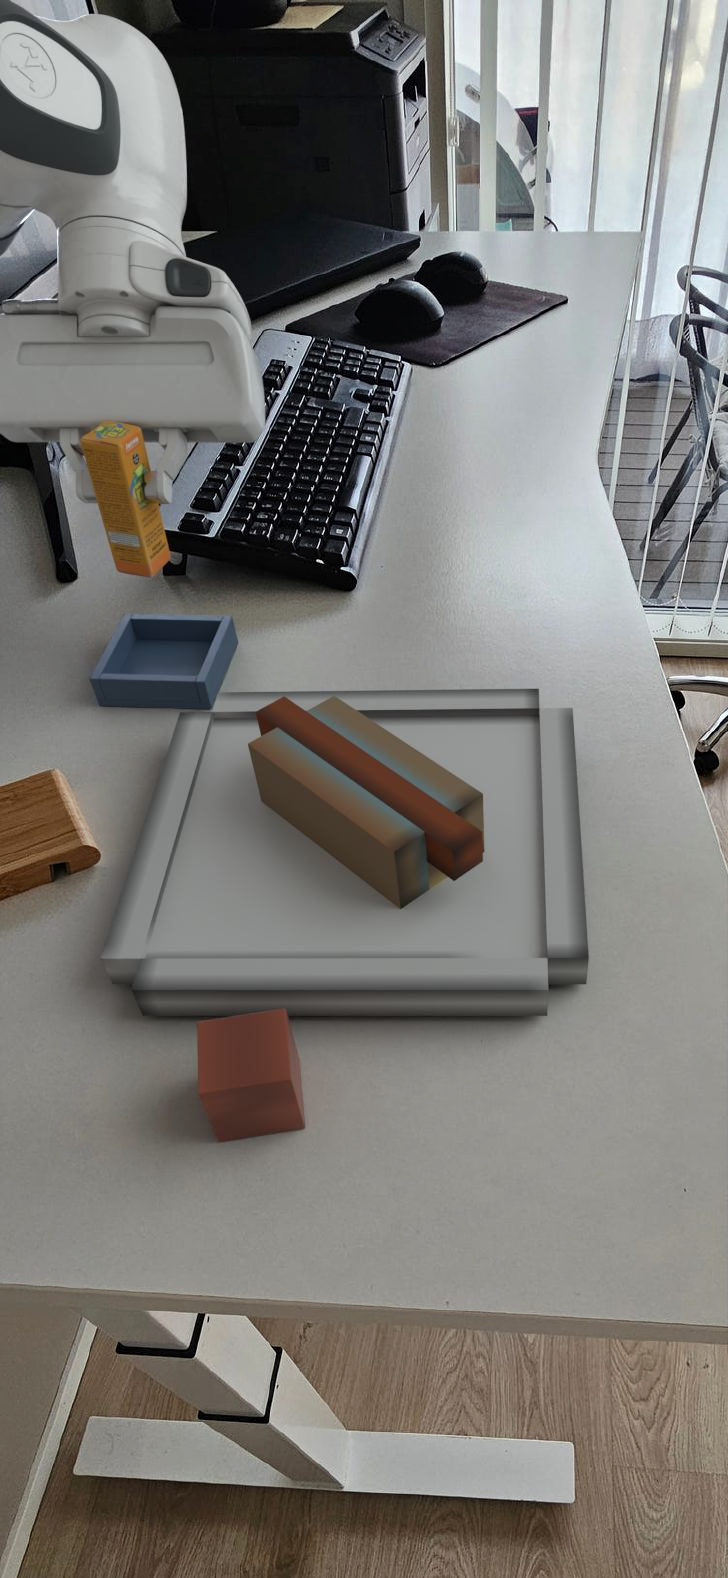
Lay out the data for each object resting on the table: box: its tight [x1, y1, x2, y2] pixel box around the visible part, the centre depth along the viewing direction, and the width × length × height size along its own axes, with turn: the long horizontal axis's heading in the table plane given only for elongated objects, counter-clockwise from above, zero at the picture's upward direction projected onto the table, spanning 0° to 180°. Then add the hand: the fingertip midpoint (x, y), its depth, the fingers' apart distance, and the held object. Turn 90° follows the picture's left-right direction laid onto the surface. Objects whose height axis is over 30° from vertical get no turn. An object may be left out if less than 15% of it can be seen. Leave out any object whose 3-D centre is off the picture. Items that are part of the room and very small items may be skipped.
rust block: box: [196, 1009, 306, 1143], centre depth 59 cm, size 5×5×5 cm
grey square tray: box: [99, 688, 590, 1017], centre depth 70 cm, size 30×30×8 cm
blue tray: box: [88, 613, 239, 710], centre depth 87 cm, size 10×10×3 cm
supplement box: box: [81, 421, 172, 578], centre depth 77 cm, size 3×3×10 cm
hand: (125, 500), depth 76 cm, fingers closed on supplement box, 4 cm apart
